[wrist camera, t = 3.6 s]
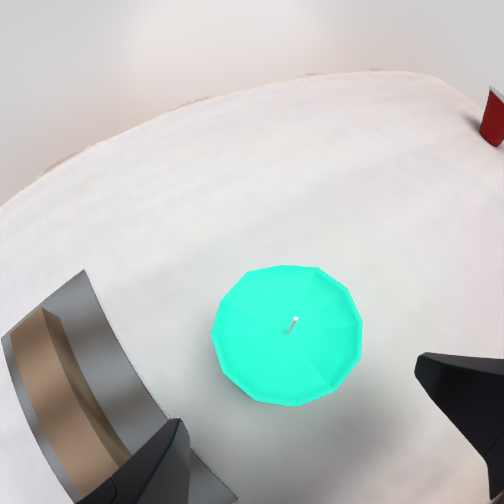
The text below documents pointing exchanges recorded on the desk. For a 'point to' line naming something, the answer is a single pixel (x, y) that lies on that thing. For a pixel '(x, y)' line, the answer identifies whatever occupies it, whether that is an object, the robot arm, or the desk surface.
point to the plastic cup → (493, 118)
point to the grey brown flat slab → (87, 394)
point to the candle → (287, 334)
